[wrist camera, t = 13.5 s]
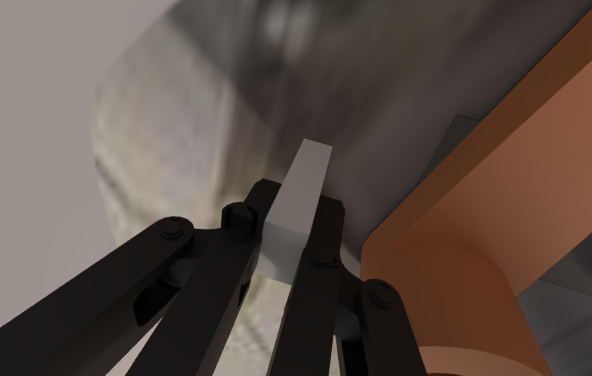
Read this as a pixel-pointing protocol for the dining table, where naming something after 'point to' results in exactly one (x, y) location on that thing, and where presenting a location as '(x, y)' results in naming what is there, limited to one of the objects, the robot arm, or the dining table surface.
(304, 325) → the robot arm
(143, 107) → the dining table surface
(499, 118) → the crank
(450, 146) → the gasket mat
